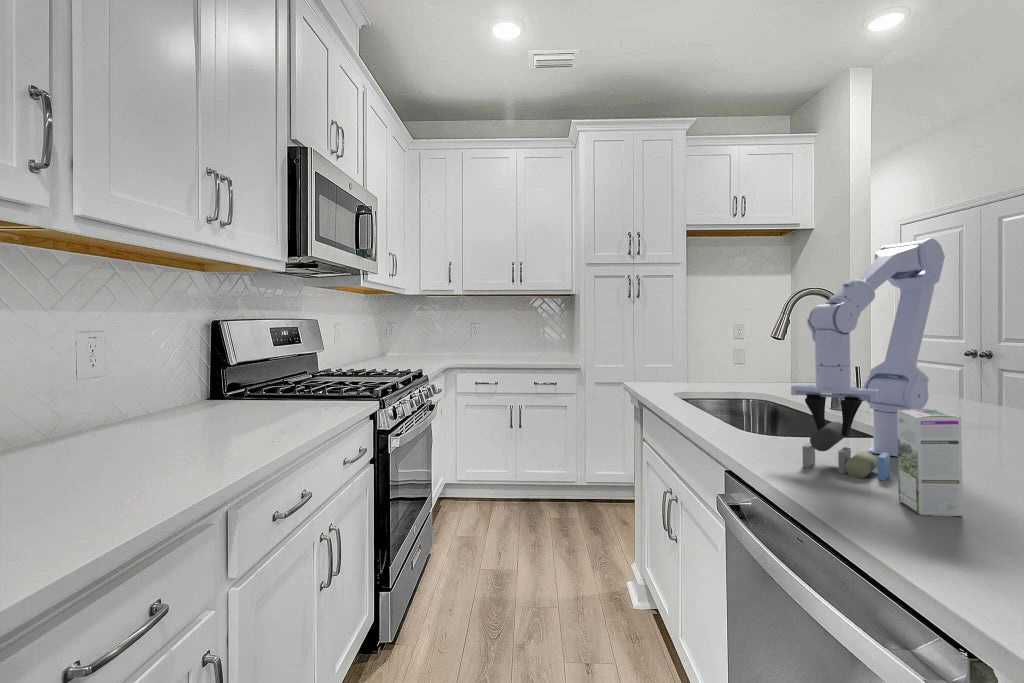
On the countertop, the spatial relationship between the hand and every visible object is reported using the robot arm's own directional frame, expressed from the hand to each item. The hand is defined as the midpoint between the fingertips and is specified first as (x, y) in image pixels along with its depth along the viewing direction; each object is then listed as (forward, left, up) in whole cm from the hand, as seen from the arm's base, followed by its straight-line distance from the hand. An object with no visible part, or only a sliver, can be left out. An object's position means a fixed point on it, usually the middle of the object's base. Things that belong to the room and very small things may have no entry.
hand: (833, 434), depth 100 cm
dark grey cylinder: (+3, 0, -2) cm, 3 cm away
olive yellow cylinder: (+5, +6, -6) cm, 10 cm away
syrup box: (+18, +17, -6) cm, 26 cm away
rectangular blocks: (+5, +6, -6) cm, 9 cm away
